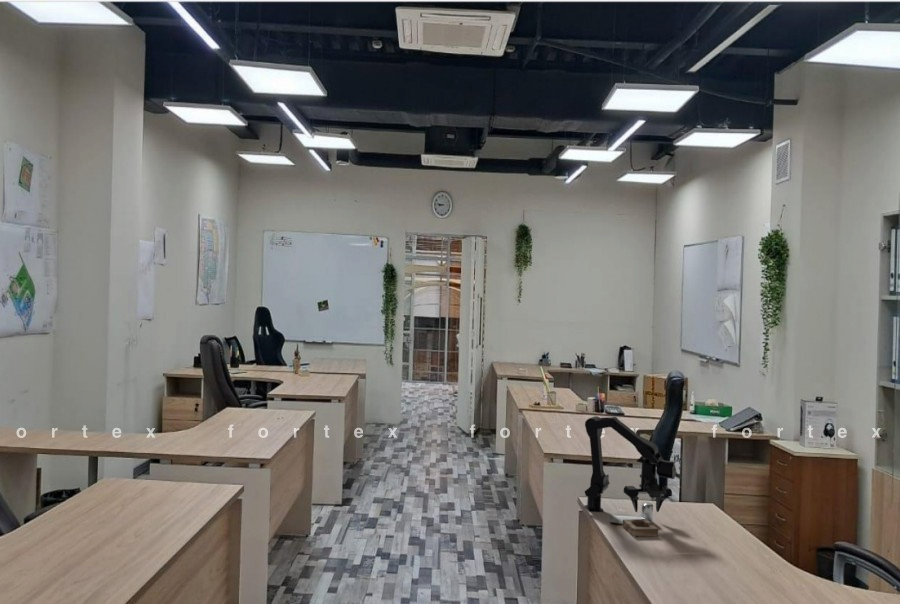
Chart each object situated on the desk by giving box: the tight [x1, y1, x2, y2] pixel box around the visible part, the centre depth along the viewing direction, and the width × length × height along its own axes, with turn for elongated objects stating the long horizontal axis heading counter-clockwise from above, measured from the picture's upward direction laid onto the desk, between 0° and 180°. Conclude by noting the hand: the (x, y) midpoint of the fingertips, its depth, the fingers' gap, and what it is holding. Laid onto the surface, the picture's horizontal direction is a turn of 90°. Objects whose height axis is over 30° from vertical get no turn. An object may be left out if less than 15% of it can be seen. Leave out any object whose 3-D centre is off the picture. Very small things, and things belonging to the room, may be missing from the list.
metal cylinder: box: [640, 501, 654, 523], centre depth 259 cm, size 4×4×7 cm
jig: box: [622, 518, 659, 538], centre depth 247 cm, size 10×10×3 cm
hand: (646, 511), depth 259 cm, fingers open, 9 cm apart
